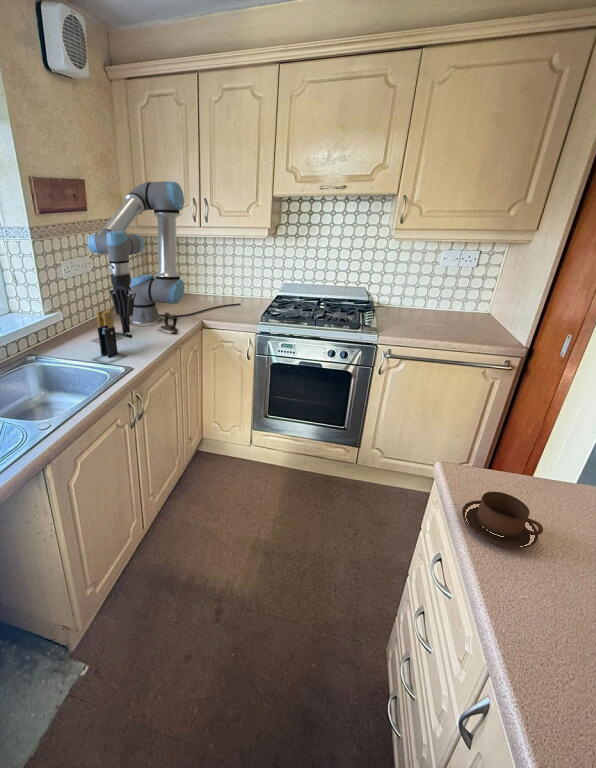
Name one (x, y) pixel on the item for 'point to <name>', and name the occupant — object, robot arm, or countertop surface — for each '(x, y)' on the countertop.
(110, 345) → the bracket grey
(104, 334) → the lever grey
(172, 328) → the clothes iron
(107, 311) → the lever brass
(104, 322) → the bracket brass
